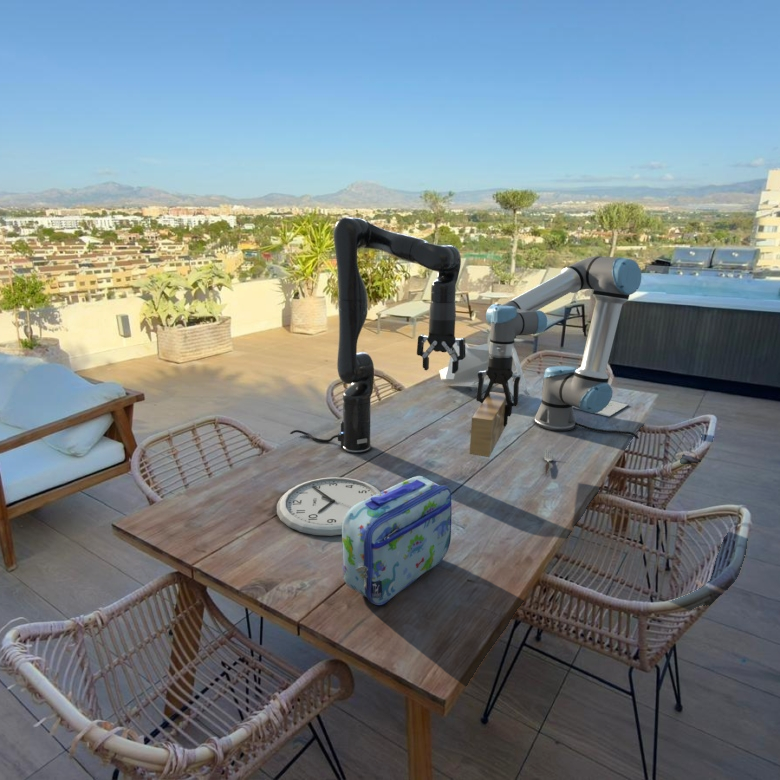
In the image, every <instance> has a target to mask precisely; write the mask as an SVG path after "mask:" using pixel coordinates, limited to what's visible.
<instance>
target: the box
mask: <svg viewBox="0 0 780 780" xmlns="http://www.w3.org/2000/svg"><path fill="white" fill-rule="evenodd" d="M506 405H507V402H506V397H505V393H503V392H497V391H496V392H495V391H490V394H489V395H488V396H487V397H486V399H485V400H484V402H483V403H481V404H480V406H479V407H478V408H477V410H476V411H475V412H474V414H473V415H472V417H471V425H470V426H471V427H470V438H469V439H470V441H469V455H473V456H477V457H484V458H490V457H491V455H492V453H493V451H494V449H495V448H496V445H498V442H499V440H500V439H501V436H502V435H503V432H504V430H505V429H506V426H504V415H505V407H506Z"/></svg>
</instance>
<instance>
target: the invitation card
mask: <svg viewBox="0 0 780 780" xmlns="http://www.w3.org/2000/svg"><path fill="white" fill-rule="evenodd" d="M628 406H629V404H627V403H623V402H618V401H614V400H610V402H609V404H608V405H607V406H606V407H605V408H604V409H603V410H602V411H600V412H597V413H595V414H596V415H600V416H604V417H608V418H609V417H611V416H613V415H614V414H616V413H617V412H619V411H621V410H623V409H624V408H626V407H628ZM573 409H575V410H581V409H579V408H576V407H574V406H573ZM581 411H582V410H581Z"/></svg>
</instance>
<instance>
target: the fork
mask: <svg viewBox="0 0 780 780" xmlns="http://www.w3.org/2000/svg"><path fill="white" fill-rule="evenodd" d="M547 450H548V449H546V451H545V455H544V461H546V463H545V468H544V469H545V474H547V473H548V471H549V469H550V462H553V460H554V452H552V451H550V450H548V451H547ZM549 451H550V452H549Z"/></svg>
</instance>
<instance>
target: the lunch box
mask: <svg viewBox="0 0 780 780" xmlns="http://www.w3.org/2000/svg"><path fill="white" fill-rule="evenodd" d="M452 511H453V510H452V491H451V489H450V487H449V486H447V485H444V484H442V485H440V484H437V483H436V482H434V481H432V480H430V479H428V478H427V477H425V476H422V475H416V476H413V477H411V478H408V479H406V480H403V481H401V482H399V483H397V484H395V485H393V486H390V487H388V488H386V489H384V490H382V491H381V492H380V493H378V494H376V495H374V496H372V497H370V498H368V499H366V500H364V501H362V502H360V503H358V504H356V505H354V506H353V507H352V508H351V509H350V510H349V511H348V512H347V514H346V516H345V518H344V521H343V525H342V535H341V543H342V544H341V545H342V569H343V578H344V583H345V585H346V586H347V587H349V588H351V589H352V590H354V591H356V592H357V593H360V594H361V595H362V596H363V597H365V598H367V601H369V603H372V604H373V605H376V606H383V605H385V604H386V603H388V602H389V601H390V600H391V599H392V598H394V597H395V596H396V595H397V594H399V593H400V592H401V591H403V590H404V589H406V588H407V587H408V586H410V585H411V584H413V583H414V582H416V580H417V579H418V578H420V576H422V575H423V574H425V573H426V572H428V571H430V570H432V569H433V568H435V567H436V566H438V565H439V564H440V563H441V562H442V561H443V560H444V558H445V557H446V555H447V552H448V551H449V548H450V544H451V539H452V515H453V514H452Z"/></svg>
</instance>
